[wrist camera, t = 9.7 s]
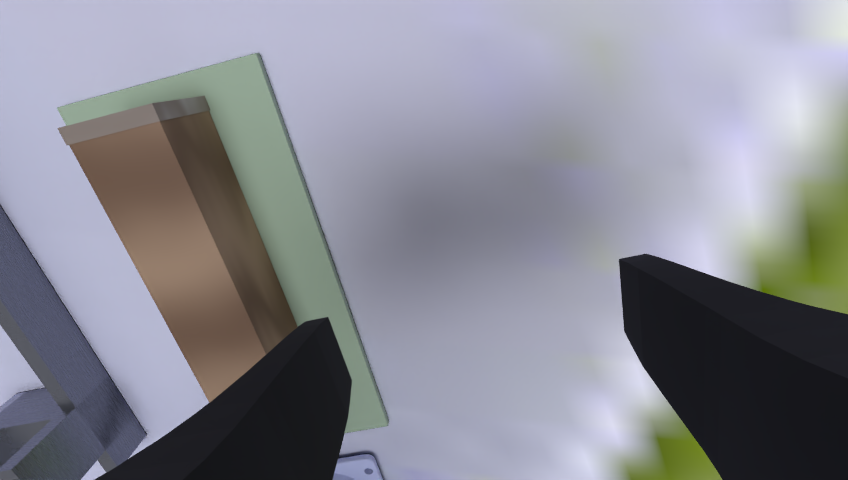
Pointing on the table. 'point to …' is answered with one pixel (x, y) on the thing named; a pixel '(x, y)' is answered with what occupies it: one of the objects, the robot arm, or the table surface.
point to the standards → (55, 382)
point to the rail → (187, 233)
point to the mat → (266, 200)
